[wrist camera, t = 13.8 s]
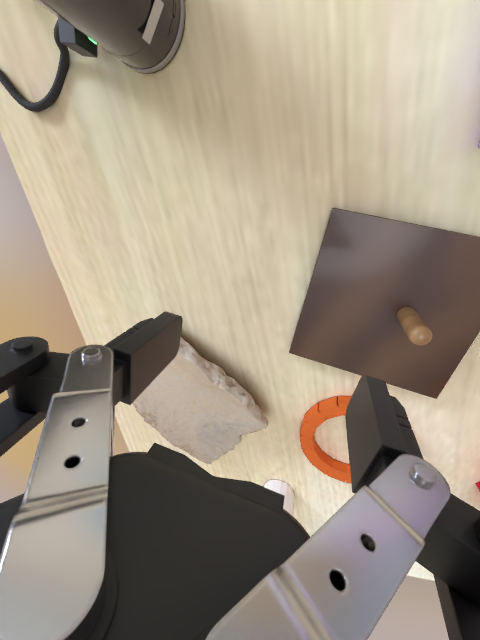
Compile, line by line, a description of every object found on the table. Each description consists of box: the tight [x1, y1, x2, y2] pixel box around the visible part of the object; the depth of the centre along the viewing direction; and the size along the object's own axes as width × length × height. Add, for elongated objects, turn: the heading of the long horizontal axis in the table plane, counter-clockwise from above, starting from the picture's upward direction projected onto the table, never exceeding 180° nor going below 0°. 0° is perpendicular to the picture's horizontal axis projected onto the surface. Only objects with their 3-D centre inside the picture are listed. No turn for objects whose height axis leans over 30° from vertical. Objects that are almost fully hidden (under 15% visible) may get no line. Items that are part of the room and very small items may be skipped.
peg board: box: [289, 208, 480, 399], centre depth 30 cm, size 19×19×8 cm
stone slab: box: [133, 337, 268, 464], centre depth 44 cm, size 24×8×20 cm
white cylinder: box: [264, 480, 294, 516], centre depth 48 cm, size 7×7×7 cm
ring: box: [300, 396, 352, 483], centre depth 41 cm, size 15×15×2 cm
